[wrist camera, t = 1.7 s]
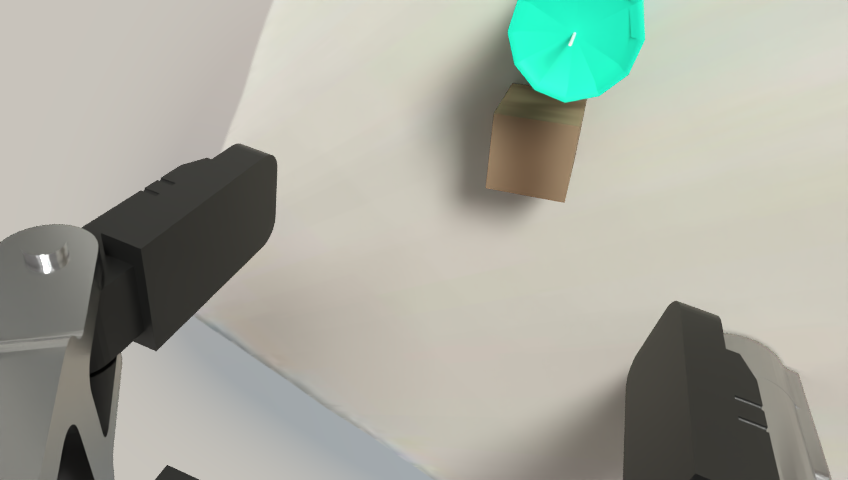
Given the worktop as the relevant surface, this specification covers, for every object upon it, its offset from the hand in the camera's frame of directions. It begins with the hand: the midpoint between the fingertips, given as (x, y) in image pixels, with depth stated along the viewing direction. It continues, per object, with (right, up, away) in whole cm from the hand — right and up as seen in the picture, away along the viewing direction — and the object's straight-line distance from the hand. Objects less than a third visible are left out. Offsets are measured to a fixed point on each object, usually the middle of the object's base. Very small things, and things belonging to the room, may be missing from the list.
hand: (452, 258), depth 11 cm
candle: (+9, +15, +22) cm, 28 cm away
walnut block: (+8, +8, +27) cm, 29 cm away
